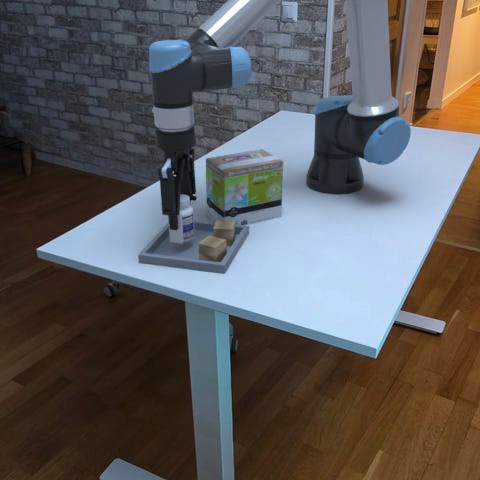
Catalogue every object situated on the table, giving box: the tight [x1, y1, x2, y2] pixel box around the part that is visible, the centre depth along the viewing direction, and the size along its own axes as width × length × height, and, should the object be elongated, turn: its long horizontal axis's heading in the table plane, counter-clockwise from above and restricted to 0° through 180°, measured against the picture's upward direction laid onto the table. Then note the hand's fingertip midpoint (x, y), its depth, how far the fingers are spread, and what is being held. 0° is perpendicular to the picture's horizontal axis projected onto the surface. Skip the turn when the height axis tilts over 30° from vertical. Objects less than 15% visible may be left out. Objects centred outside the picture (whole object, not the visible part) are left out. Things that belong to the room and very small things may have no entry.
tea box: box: [205, 148, 284, 226], centre depth 130 cm, size 15×10×15 cm
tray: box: [137, 219, 250, 275], centre depth 118 cm, size 18×18×2 cm
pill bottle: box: [180, 194, 195, 242], centre depth 116 cm, size 5×5×9 cm
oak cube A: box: [214, 220, 235, 246], centre depth 120 cm, size 4×4×4 cm
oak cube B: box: [198, 235, 227, 262], centre depth 113 cm, size 4×4×4 cm
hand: (182, 235), depth 118 cm, fingers closed on pill bottle, 5 cm apart
